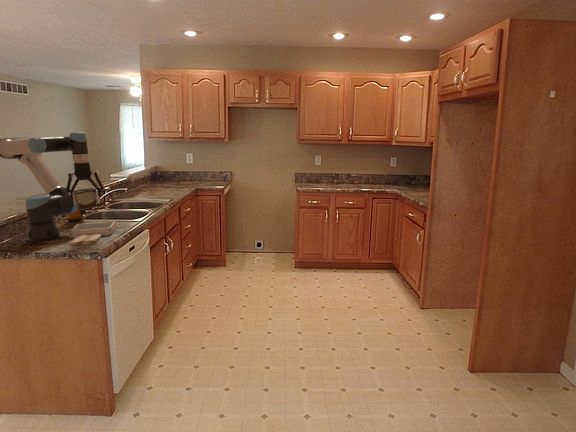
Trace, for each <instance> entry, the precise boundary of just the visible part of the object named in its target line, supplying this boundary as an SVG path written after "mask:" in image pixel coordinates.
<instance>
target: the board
mask: <svg viewBox="0 0 576 432" xmlns="http://www.w3.org/2000/svg"><path fill="white" fill-rule="evenodd" d="M102 237H103V236H102V233H100V234H88V235H78V236H77V237H75V238H72V240H71V241H70V242H69V245H70V246H71V247H72V246H81V245H93V244H97V243H98V242H99V240H100V239H101V238H102Z"/></svg>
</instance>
